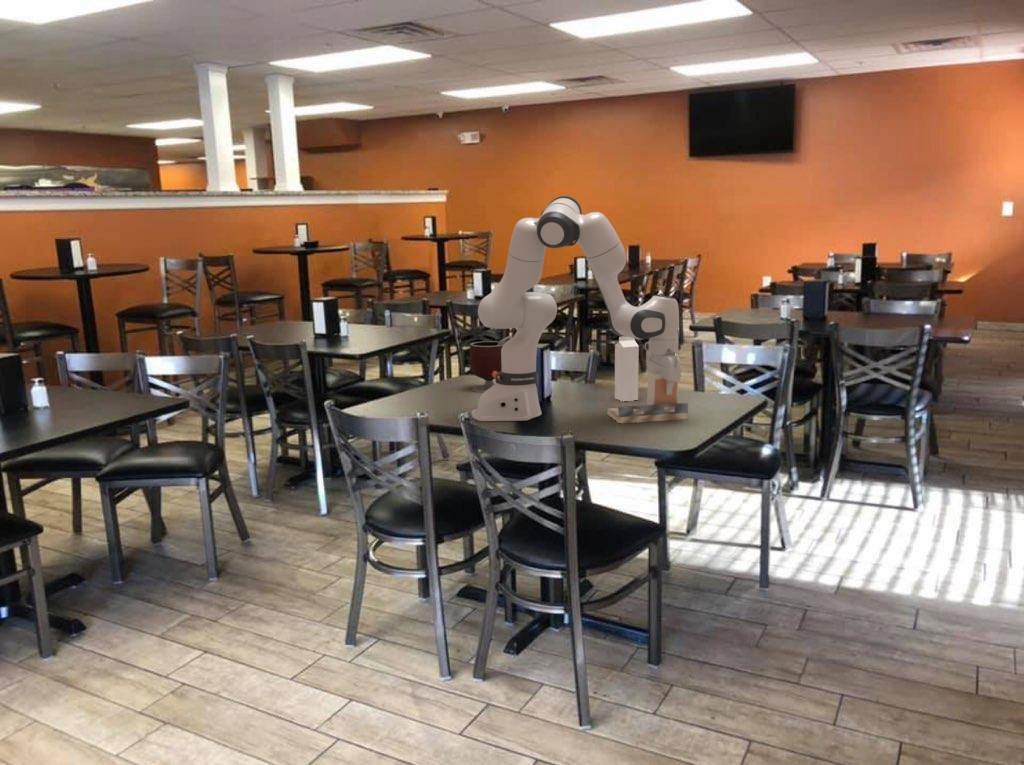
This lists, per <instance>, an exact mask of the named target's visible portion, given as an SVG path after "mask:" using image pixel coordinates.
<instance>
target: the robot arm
mask: <svg viewBox="0 0 1024 765" xmlns="http://www.w3.org/2000/svg"><path fill="white" fill-rule="evenodd" d="M509 242H510V243H509V246H508V252H507V253H508V254H507V260H506V263H505V270H504V273H503V276H502V278H501V280H500V281H499V283H498V284H497V286H496V287H495V288H494V289H493V290H492V291H491V292H490V293H489V294H487V295H486V296H484V297H483V298H482V299H481V300H480V302H479V305H478V308H477V315H478V318H479V321H480V322H481V324H482V325H483V326H484V327H485V328H489V329H496V330H506V329H517V330H516V333H515V334H514V336H512V338H509V339H508V340H506V341H505V342H504V343H505V344H504V345H503V347H502V349H501V365H502V371H500V372H499V373H498V372H497V371H494V373H492V376H493V377H494V378H495V379H494V380H495V381H494V382H495V383H494V385H493V386H492V387H490V388H489V389H488V390H487V391H485V392H484V393H482V394H480V397H479V400H478V404H477V405H478V406H477V408H475V409H473V410H472V411H471V418H473V419H474V420H476V421H479V422H507V421H508V422H512V421H514V422H515V421H516V422H517V421H529V420H532V419H534V418H536V417H540V416H541V415H542V414H543V413H542V409H541V406H540V400H539V395H538V385H539V374H538V370H537V352H538V344H539V341H540V339H541V337H542V334H543V332H544V331H545V330H546V328H547V327H548V326H550V324H552V323H553V321H554V320H555V319H556V316H557V312H558V305H557V302H556V300H555V298H554V296H552V295H551V294H550V293H547V292H546V293H545V292H539V291H534V292H533V291H529V290H530V289H532V288H533V287H535V286H536V285H537V284H539V282H541V279H542V275H543V269H544V268H543V267H544V264H545V263H544V262H545V256H546V252H547V251H546V250H547V248H550V249H558V248H559V249H560V248H565V247H571V246H575V245H576V243H577V244H578V245H579V246H580V248H581V249H582V251H583V254H584V256H585V257H586V260H587V263H588V264H589V265H590V268H591V270H592V273H593V276H594V279H595V282H596V285H597V288H598V290H599V292H600V295H601V298H602V300H603V302H604V305H605V307H606V310H607V322H608V326H609V328H610V330H611V331H612V333H613V334H615V335H616V336H619V337H631V338H635V340H636V339H637V340H646V339H649V341H647V342H645V343H644V349H645V350H646V352H645V359H646V361H645V362H646V369H647V373H648V372H651V371H655V372H657V373H659V374H661V378H662V379H664V380H666V384H667V386H666V388H665V393H666V394H667V395H671V394H672V389H673V386H674V382H678V383H679V382H680V381H681V379H682V376H681V375H682V374H681V372H682V370H681V368H682V367H681V360H680V357H679V356H677V355H678V354H679V341H680V340H679V333H678V330H679V329H678V328H679V326H680V310H679V309H680V308H679V303H678V301H677V299H676V298H675V297H673V296H669V295H662V294H661V295H660V294H654V295H653V296H652V297H651V298H650V299H648V301H647V302H645V303H643V304H641V305H639V306H635V305H632V304H631V303H629V302H628V301H627V300H626V298H625V295H624V292H623V290H622V287H621V286H620V283H619V280H618V279H619V278H618V275H619V274H620V273H621V272H622V271H623V270H624V268H625V266H626V263H627V253H626V250H625V247H624V245H623V243H622V241H621V239H620V237H619V235H618V233H617V231H616V230H615V228H614V227H613V225H612V224H611V222H610V220H609V219H608V218H607V216H606V215H605V214H603V213H601V212H599V211H593V212H589V213H586V214H583V212H582V207H581V205H580V203H579V201H577V199H575V198H574V197H572V196H568V195H561V196H558V197H555V198H554V199H553V200H551V201H550V202H549V203H548V205H547V206H546V207H545V208H544V210H543V211H542V212H541V214H540V216H539V217H535V218H534V217H524V218H521V219H520V220H518V221H517V222H516V223H515V226H514V228H513V231H512V235H511V238H510V241H509Z"/></svg>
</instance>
